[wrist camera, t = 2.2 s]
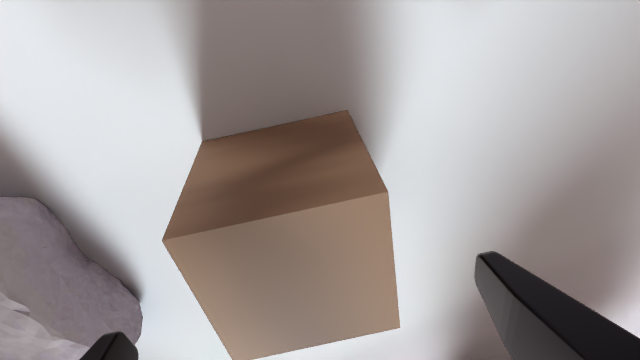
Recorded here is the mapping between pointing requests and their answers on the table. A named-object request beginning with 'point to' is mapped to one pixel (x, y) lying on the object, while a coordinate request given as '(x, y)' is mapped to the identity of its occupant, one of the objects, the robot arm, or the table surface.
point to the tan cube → (287, 238)
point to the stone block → (54, 289)
